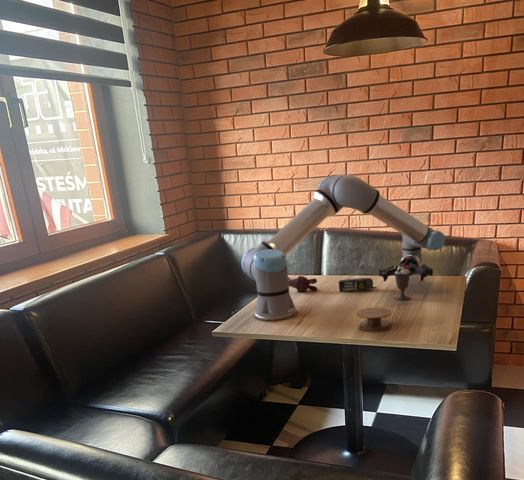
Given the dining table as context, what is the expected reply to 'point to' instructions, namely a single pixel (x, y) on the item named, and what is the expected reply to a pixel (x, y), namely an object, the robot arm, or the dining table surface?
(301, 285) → the chocolate bunny
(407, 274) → the sundae
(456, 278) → the dining table surface
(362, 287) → the mobile phone
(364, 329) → the stand
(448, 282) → the dining table surface
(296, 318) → the dining table surface
